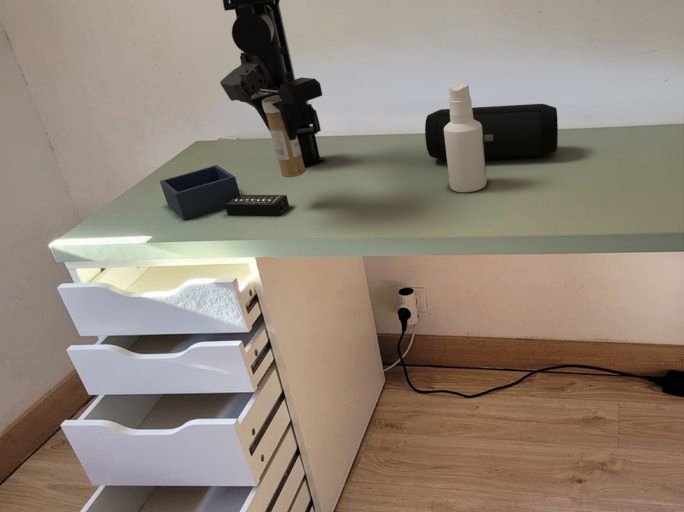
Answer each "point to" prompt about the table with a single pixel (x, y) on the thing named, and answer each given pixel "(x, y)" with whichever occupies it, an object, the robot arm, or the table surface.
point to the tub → (199, 191)
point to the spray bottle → (464, 143)
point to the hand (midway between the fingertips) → (284, 138)
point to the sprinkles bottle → (283, 141)
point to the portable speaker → (502, 131)
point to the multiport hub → (257, 205)
